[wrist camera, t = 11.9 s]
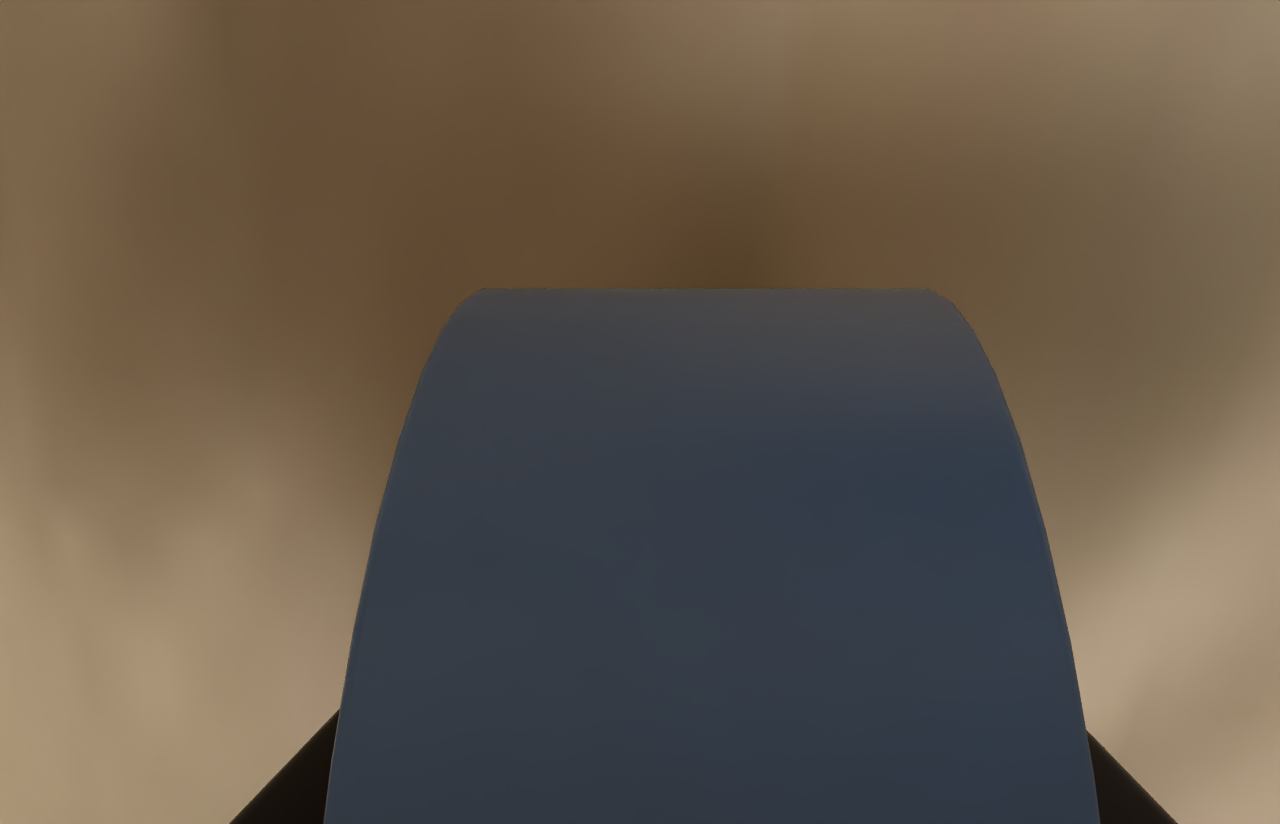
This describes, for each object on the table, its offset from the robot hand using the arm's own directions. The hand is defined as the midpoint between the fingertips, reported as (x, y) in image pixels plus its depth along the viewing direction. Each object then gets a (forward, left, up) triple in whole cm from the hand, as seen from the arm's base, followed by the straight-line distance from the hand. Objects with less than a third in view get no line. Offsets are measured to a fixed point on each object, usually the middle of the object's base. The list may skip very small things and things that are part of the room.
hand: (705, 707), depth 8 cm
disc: (-3, +4, -3) cm, 6 cm away
